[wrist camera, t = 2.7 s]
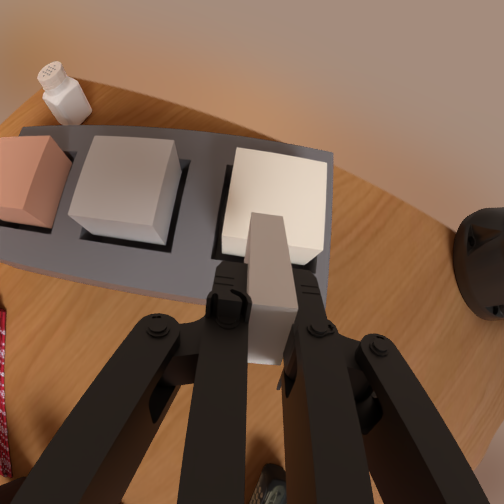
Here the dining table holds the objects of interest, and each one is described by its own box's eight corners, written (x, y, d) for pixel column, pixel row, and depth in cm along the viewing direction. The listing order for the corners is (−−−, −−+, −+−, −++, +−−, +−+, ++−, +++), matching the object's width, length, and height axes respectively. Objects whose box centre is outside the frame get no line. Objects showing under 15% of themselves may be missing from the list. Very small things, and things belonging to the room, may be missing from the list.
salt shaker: (78, 102, 34) (53, 55, 25) (95, 111, 34) (71, 62, 25) (58, 123, 33) (28, 79, 24) (74, 133, 33) (44, 87, 24)
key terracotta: (72, 163, 25) (50, 135, 20) (51, 228, 24) (22, 209, 19) (24, 161, 25) (0, 137, 20) (4, 221, 23) (-26, 203, 18)
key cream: (309, 190, 26) (327, 162, 22) (304, 265, 25) (323, 250, 20) (234, 178, 26) (236, 147, 21) (222, 253, 24) (221, 235, 20)
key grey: (181, 172, 26) (174, 140, 21) (165, 245, 24) (152, 225, 19) (113, 165, 25) (94, 135, 21) (93, 234, 24) (67, 214, 19)
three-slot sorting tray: (312, 187, 34) (333, 152, 26) (301, 317, 30) (324, 314, 23) (50, 158, 32) (22, 126, 25) (18, 268, 28) (-22, 253, 21)
